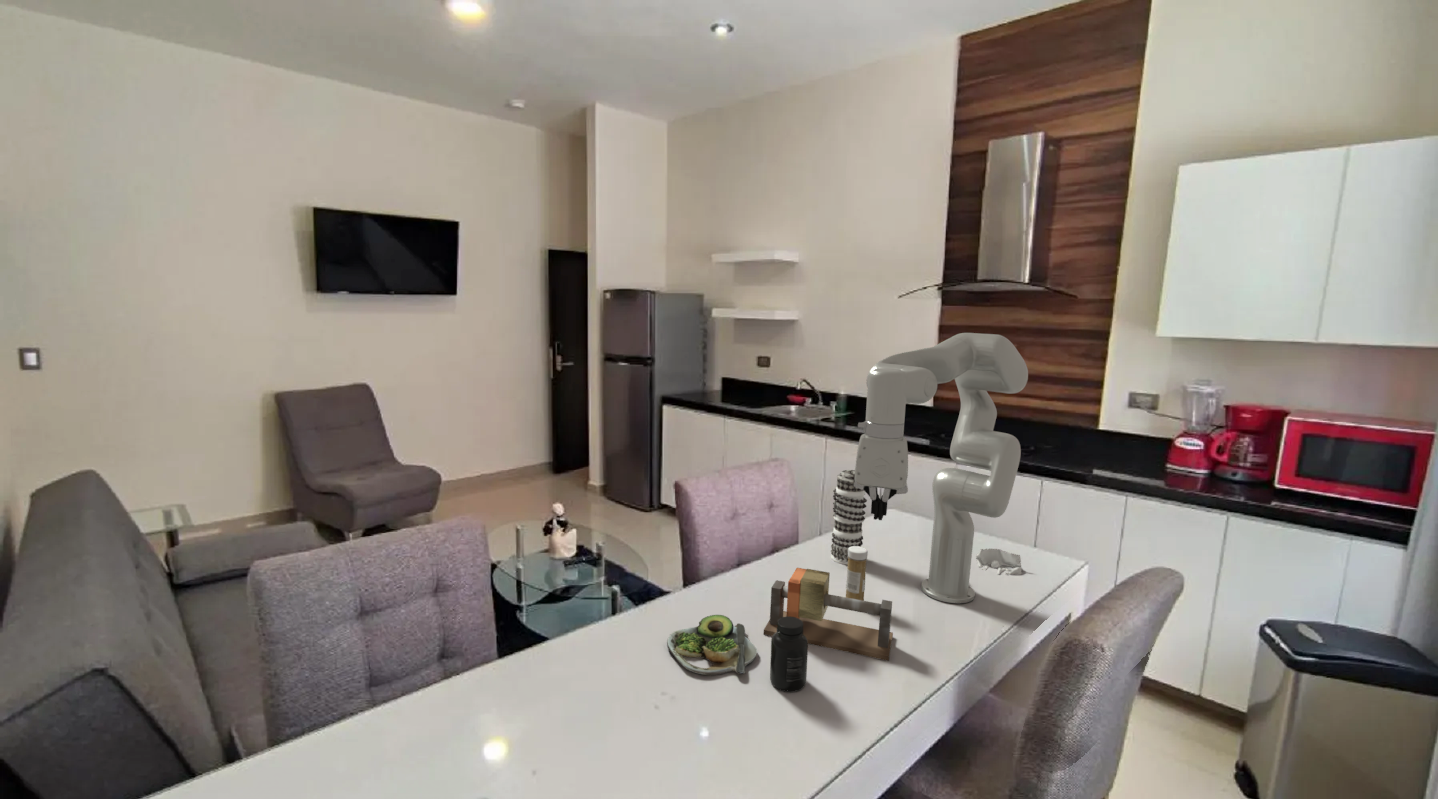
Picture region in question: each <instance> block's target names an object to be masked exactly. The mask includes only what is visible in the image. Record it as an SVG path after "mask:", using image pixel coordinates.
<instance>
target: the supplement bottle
mask: <svg viewBox="0 0 1438 799" xmlns="http://www.w3.org/2000/svg"><path fill="white" fill-rule="evenodd" d="M770 642H771V643H770V665H769V666H770V669H769V680H770V683H771V685H772V686H773V687H774V688H776V689H778V690H780V691H782V692H787V693H788V692H790V693H791V692H792V693H794V692H798V691H800V690H802V689H803V688H804V687H806V684H807V677H808V676H807V675H808V674H807V673H808V657H809V656H808V655H809V654H808V653H809V652H808V651H809V644H808V640H807V638H806V636H805V635H804V634H803V622H802V621H801V620H800V619H798V618H796V617H788V616H787V617H782V618H780V619H779V620H778V622H777V632H776V633H775V634H774V635H773V636H771V639H770Z"/></svg>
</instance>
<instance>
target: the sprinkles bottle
mask: <svg viewBox="0 0 1438 799" xmlns="http://www.w3.org/2000/svg"><path fill="white" fill-rule="evenodd" d="M868 555H869V553H868V549H867V548H865V547H863V546H861V547H860V546H851V547H849V548H848V565H847V568H846V581H845V582H846V584H845V589H846V591H845V597H846V598H851V599H857V600H862V601H865V590H866V571H867V569H866V568H867V561H868Z"/></svg>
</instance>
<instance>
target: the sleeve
mask: <svg viewBox="0 0 1438 799" xmlns="http://www.w3.org/2000/svg"><path fill="white" fill-rule="evenodd" d="M806 569H807V570H806V571H805V573H804V575H803V577H802V579H801V580H800V593H799V611H798V617H802V618H807V619H812V620H817V621H822V619H824V617H825V614H826V612H827V610H828V607H829V606H825V605H824V596H825V594H829V590H830V572H828V571H822V570H818V569H817V570H816V569H811V568H806Z"/></svg>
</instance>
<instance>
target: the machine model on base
mask: <svg viewBox="0 0 1438 799" xmlns="http://www.w3.org/2000/svg"><path fill="white" fill-rule="evenodd" d="M770 590H771V591H770V608H769V614H770V615H769V621H768V622H767V623H766V625H765V627H764V629H763V635H766V636H771V637H772V636H773V635H774V634H775V633H776V632H777V622H778V620H779V619H780V618H782V617H786V615H787V610H786V611H785V610H784V606H785V599H787V596H788V585H787V586H786V581H782V580H775V581H774V583H773V584H772V586H771V589H770ZM824 605H825V606H828V607H831V608H837V609H840V610H841V609H843V610H847V611H852V612H856V613H863V614H867V615H874V616H878V617H879V622H878V629H876V628H872V627H866V626H862V625H861V626H860V625H858V624H857V625H856V624H852V623H846V622H840V621H836V620H831V619H826V618H823V619H822V621H817V620H812V619H807V618H802V617H800V618H799V619H800V620H801V621H802V622H803V634H804V635H805V636H806V638H807V640H808V645H812V646H818V647H821V648H822V647H823V648H826V649H831V650H837V651H839V652H840V651H841V652H846V653H848V654H849V653H850V654H854V655H860V656H864V657H869V658H875V659H878V660H882V661H888V662H889V659H890V655H891V654H890V653H891V648H892V642H893V635H894V633H893V632H892V631H891V620H892V608H893V600H886V599H882V600H881V603H877V602H872V601H867V600H864V601H862V600H857V599H851V598H846V596H839V595H834V594H831V593H830V594H829V593H828V594H825V596H824Z"/></svg>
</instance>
